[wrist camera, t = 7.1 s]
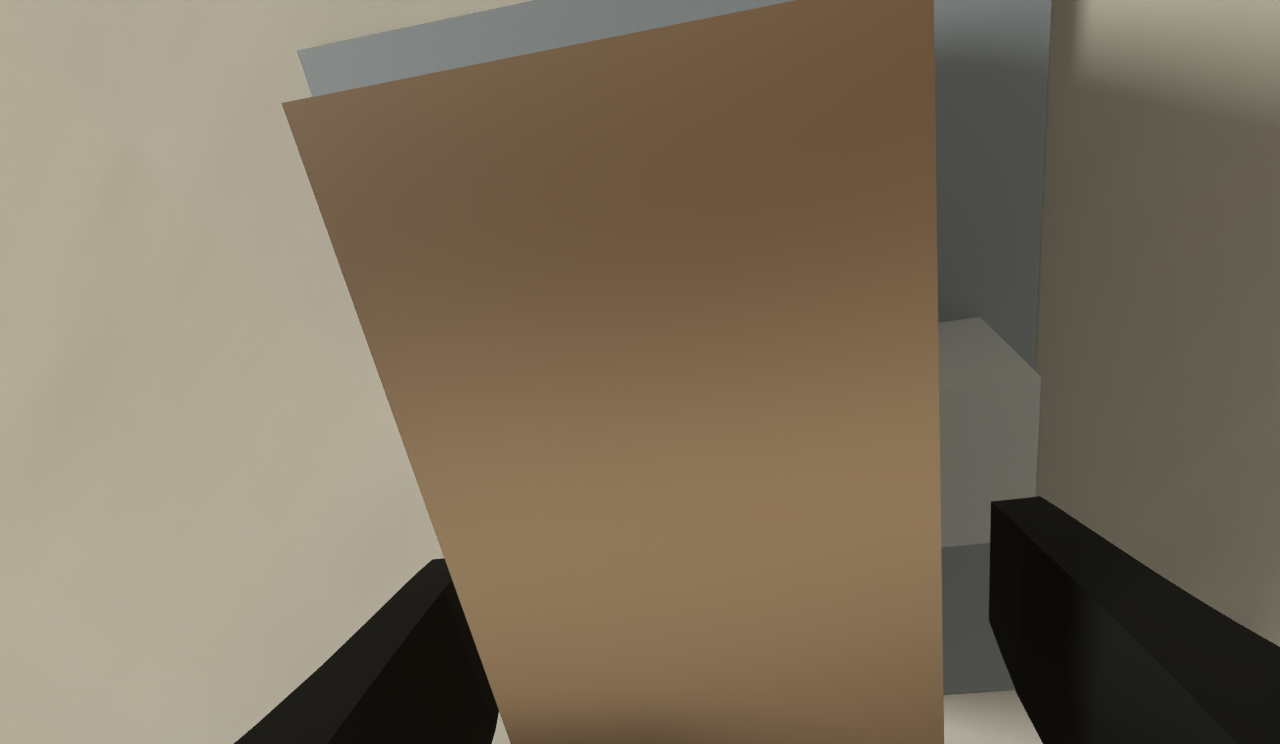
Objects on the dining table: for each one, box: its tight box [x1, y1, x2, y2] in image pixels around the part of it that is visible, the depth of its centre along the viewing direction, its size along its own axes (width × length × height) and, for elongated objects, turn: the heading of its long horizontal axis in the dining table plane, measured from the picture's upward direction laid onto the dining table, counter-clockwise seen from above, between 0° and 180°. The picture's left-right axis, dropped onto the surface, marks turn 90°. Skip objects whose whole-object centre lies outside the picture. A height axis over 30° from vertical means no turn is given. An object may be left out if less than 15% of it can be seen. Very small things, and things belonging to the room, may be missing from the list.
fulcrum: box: [297, 0, 1052, 695], centre depth 14 cm, size 16×12×3 cm
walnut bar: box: [282, 0, 944, 744], centre depth 9 cm, size 14×4×6 cm, turn 10°
